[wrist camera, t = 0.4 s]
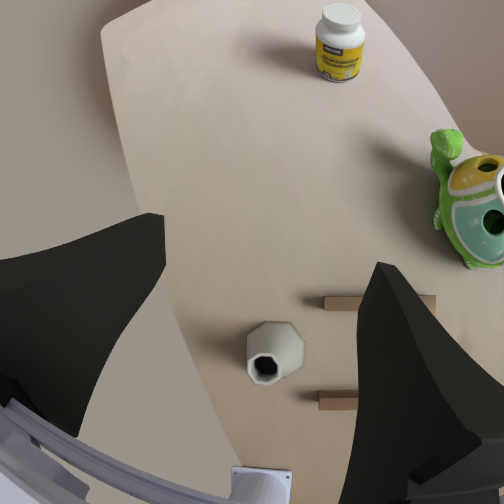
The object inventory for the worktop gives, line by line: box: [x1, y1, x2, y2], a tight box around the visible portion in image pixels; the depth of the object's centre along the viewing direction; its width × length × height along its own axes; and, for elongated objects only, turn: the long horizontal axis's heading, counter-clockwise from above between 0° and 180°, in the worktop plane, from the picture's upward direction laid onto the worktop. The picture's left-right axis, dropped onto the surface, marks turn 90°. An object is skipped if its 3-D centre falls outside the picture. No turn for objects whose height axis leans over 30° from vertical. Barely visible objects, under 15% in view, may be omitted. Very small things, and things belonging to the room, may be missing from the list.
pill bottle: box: [316, 3, 365, 82], centre depth 34 cm, size 6×6×12 cm
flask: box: [246, 322, 305, 385], centre depth 32 cm, size 7×7×10 cm
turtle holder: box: [430, 129, 504, 269], centre depth 28 cm, size 12×18×12 cm
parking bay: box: [318, 295, 436, 410], centre depth 33 cm, size 13×13×3 cm
